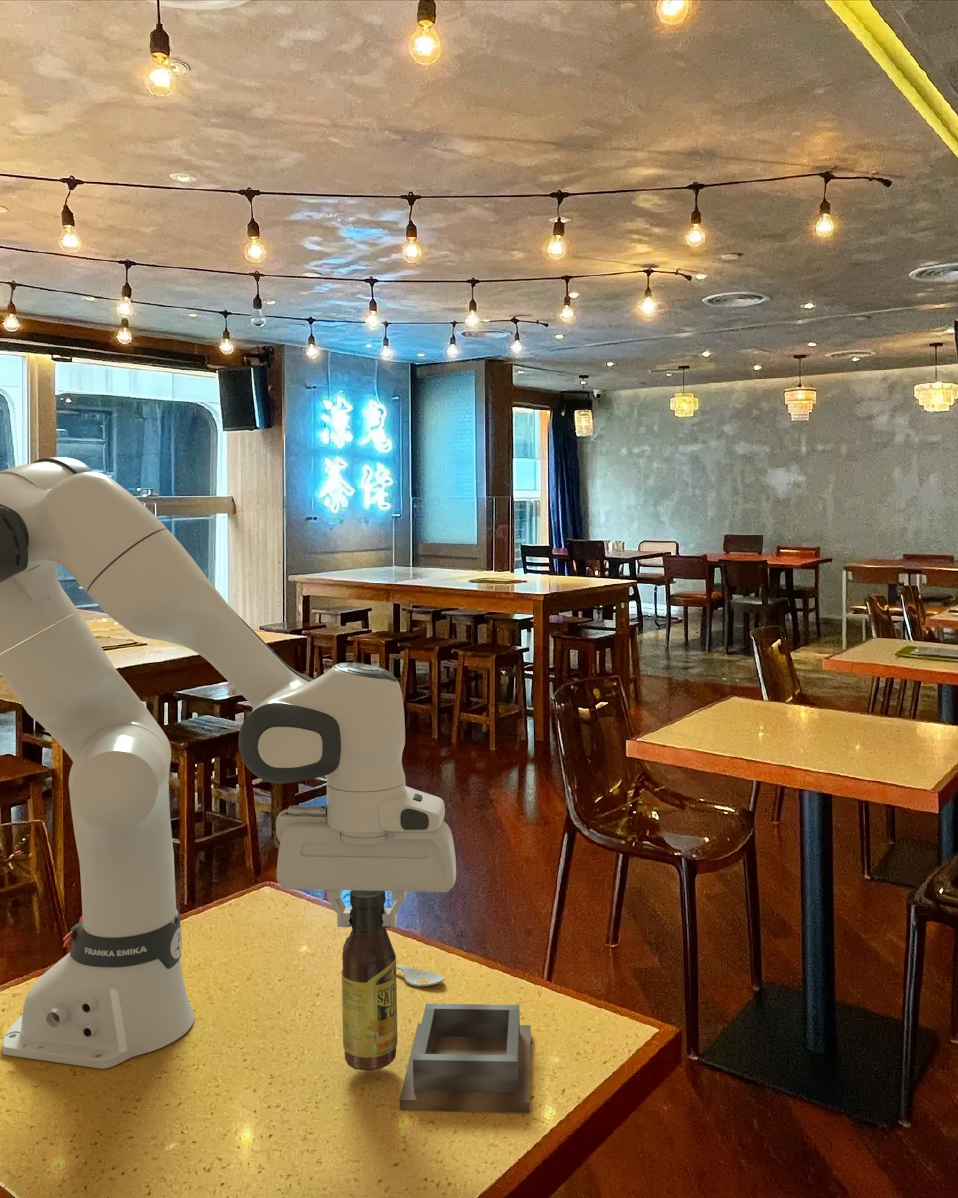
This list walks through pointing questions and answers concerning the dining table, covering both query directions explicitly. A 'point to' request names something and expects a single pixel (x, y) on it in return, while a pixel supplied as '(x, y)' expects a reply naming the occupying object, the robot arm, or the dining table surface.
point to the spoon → (419, 976)
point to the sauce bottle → (369, 986)
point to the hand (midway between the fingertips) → (367, 925)
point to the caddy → (469, 1060)
